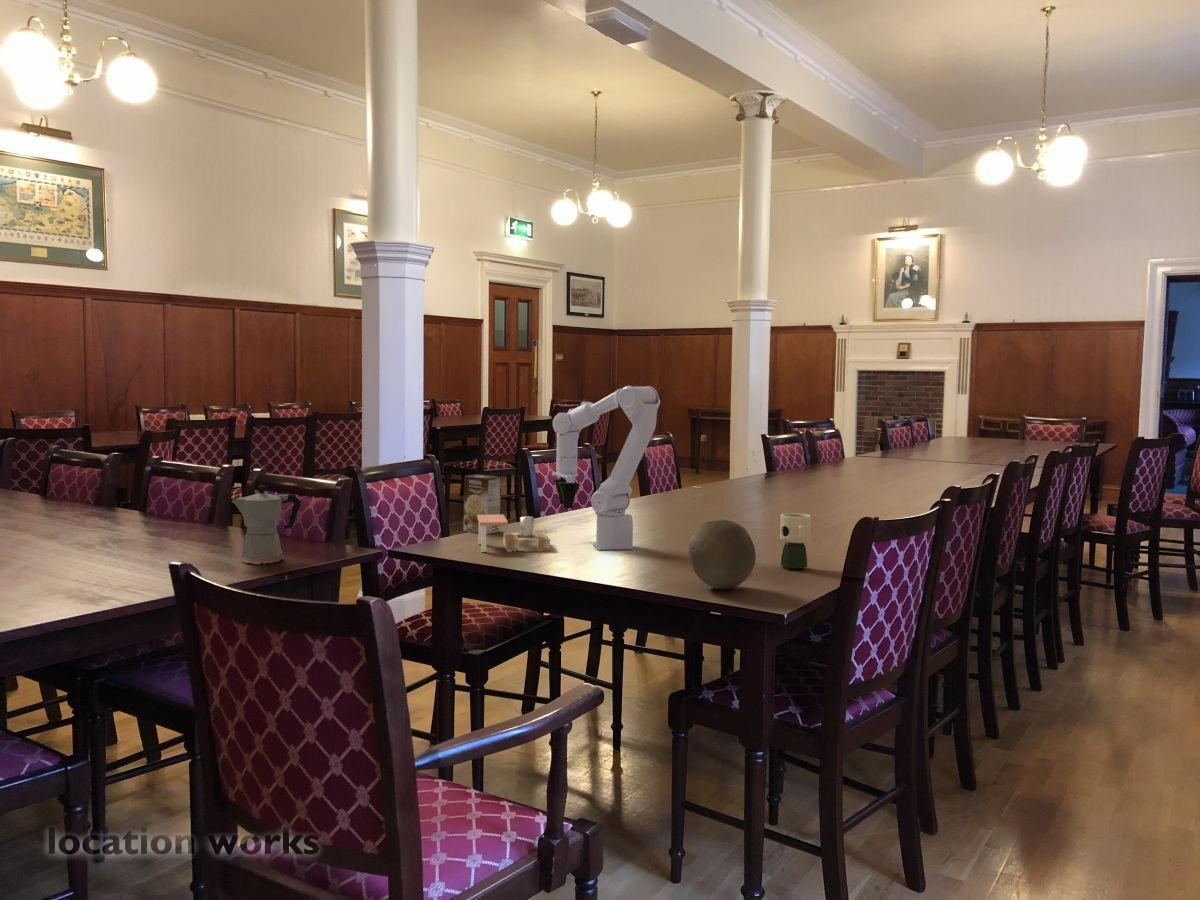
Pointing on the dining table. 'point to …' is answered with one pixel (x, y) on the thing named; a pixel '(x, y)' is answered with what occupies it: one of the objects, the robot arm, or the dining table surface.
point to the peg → (526, 527)
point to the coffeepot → (264, 522)
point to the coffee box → (481, 500)
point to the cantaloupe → (722, 554)
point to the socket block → (526, 542)
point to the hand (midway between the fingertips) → (566, 506)
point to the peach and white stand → (488, 521)
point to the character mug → (794, 539)
